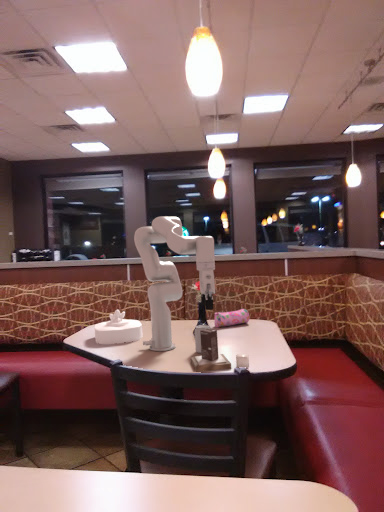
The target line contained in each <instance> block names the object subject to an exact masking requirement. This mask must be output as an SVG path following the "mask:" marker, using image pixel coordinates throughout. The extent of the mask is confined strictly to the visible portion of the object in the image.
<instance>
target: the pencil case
mask: <svg viewBox="0 0 384 512" xmlns="http://www.w3.org/2000/svg"><path fill="white" fill-rule="evenodd" d="M213 314H214V316H213V317H214V326H215V328H221V327H231V326H235V325H239V324H240V325H241V324H248V323H249V321H250V313H249V311H248V310H247V309H245V308H241V309H237V310H233V311H226V312H225V311H218V312H214V313H213Z"/></svg>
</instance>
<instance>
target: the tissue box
mask: <svg viewBox="0 0 384 512" xmlns="http://www.w3.org/2000/svg"><path fill="white" fill-rule="evenodd" d="M108 315H109V319H110V320H108V321H102V322H99V323H96V324H94V337H95V343H96V344H98V343H99V344H98V345H115V344H114V343H117V344H124V342H126V343H133V342H137V340H138V341H140V340H142V339H143V338H142V337H144V335H143V324H142V323H141V321H140V320H137V319H126V318H125V315H126V311H122V312H121V311H120V309H118V308H117V309H116V310H114V313H109V314H108ZM141 338H142V339H141ZM132 341H133V342H132ZM112 343H113V344H112Z"/></svg>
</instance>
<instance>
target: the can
mask: <svg viewBox="0 0 384 512" xmlns="http://www.w3.org/2000/svg"><path fill="white" fill-rule="evenodd" d="M206 328H207V329H211V327H210V325H208V324H200V325H196V326H195V329H194V343H195V352H197V354H201V335H200V330H203V329H206Z"/></svg>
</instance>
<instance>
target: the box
mask: <svg viewBox="0 0 384 512" xmlns="http://www.w3.org/2000/svg"><path fill="white" fill-rule="evenodd" d="M200 335H201V353H200V354H201V356H202V359H206V360H210V361H214V360H217V359H218V354H219V347H218V346H219V343H218V341H219V340H218V330H217V329H213V328H210V329H207V328H206V329H203V330H200Z"/></svg>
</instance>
